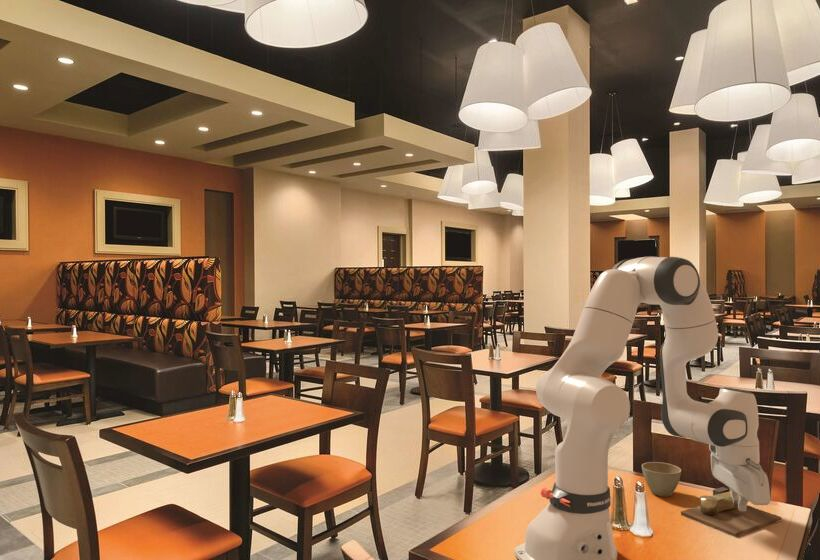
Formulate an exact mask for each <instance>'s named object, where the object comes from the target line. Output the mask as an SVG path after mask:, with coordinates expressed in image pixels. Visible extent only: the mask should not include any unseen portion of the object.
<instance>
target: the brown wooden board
mask: <svg viewBox="0 0 820 560" xmlns="http://www.w3.org/2000/svg"><path fill="white" fill-rule="evenodd" d="M680 516H683V517H686V518H688V519H691V520H693V521H696V522H698V523H700V524H703V525H704V526H707V527H710V528H713V529H715V530H718V531H720V532H723V533H725V534H728V535H730V536H731V537H739V536H741V535H745V534H747V533H750V532H753V531H756V530H758V529H760V528H765V527H767V526H769V525H772V524H775V523H778V522H780V521H779V520H781V521H782V517H781V516H779V515H776V514H773V513H770V512H769V511H765V510H762V509H759V508H756V507H753V506H751V505H748V504H747V510H746V511H739V510H738V509H737V508H732V509H728V510H724V511H720V512H717V513H716V514H714V515H710V514H705V513H703V512H701V511H700V505H698V506H695V507H691V508H689V509H685V510H681V511H680ZM777 521H778V522H777Z"/></svg>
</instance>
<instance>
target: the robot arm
mask: <svg viewBox="0 0 820 560" xmlns="http://www.w3.org/2000/svg"><path fill="white" fill-rule="evenodd" d="M641 304H647V305H658V306H660V309H661V311H662V313H661V314H662V320H663V324H664V329H665V330H664V331H665V340H664V341H663V343H662V344H661V345H660V351H659V367H660V369H659V370H660V379H661V390H662V391H661V395H662V403H661V404H662V405H661V412H660V413H661V414H660V415H661V416H660V417H661V422H662V425H663V427H664V429H665V430H666V431H667V432H668V433H669V434H670V435H672V436H674V437H678V438H684V439H690V440H693V441H695V442H700V443H702V444H707V445H708V448H709V451H710V452H711V453H710V467H711V469H710V470H711V474H712V476H713V478H714V479H716V480H718V481H719V482H720V483H722V484H724V486H726V487H728V489H729V488H730V494H731V497H732V499H733V506H734V507H735V508H737V509H738V510H739V511H746V510H747V505H748V503H751V504H753V505H754V506H769V505H770V503H771V494H770V493H771V492H770V490H771V489H770V484H769V478H768V475H767V474H766V472H765V470H763V467H762V466H761V465H760V461H761V460H760V440H759V438H758V429H759V425H760V424H759V423H760V422H759V409H758V404H757V403H758V402H757V399H756V396H755V394H754V393H752V392H751V391H749V390H744V389H739V388H734V387H726V386H725V387H721V388H719V392H718V395H717V396H716V398H715V399H713V400H712V401H709V402H708V403H707V402H702V401H698V400H695V399H692V398H691V397H690V395H688V392H687V391H688V389H687V377H686V375H687V374H686V373H687V372H686V366H687V363H688V362H690V361H693V360H696V359H699V358H701V357H704V356H705V355H707V354H709V353H710V352H711V351H713V349H714V348H715V347H716V345H717V343H718V341H719V340H718V339H719V329H718V326H717V320H716V317H715V312H714V309H713V305H712V302H711V300H710V296H709V293H708V291H707V290H706V287H705V285H704V283H703V282H702V281H701V278H700V274H699V272H698V270H697V268H696V266H695V265H694V264H693V262H691V261H690V260H688V259H686V258H684V257H683V258H682V257H678V256H668V257H667V256H665V257H664V256H659V257H658V256H653V255H652V256H651V255H649V256H643V257H642V256H641V257H636V258H634V257H633V258H632V257H631V258H630V257H629V258H626V259H623V260H620V261H619V262H617V263H616V264H614V266H612V268H611V269H606V270H604V271H603V272H601V273H600V275H599V276H598V277H597V278H596V281H595V282H594V284H593V285H592V288H591V289H590V291H589V294H588V296H587V297H586V301H585V302H584V305H583V309H582V311H581V314H580V316H579V319H578V323H577V325H576V327H575V330H574V332H573V335H572V338H571V340H570V342H569V343H568V345H567V347H566V348H565V350H564V351H563V353H562V355H561V356H560V358H559V359H558V360H557V361H556V363H555V364H554V365H553V366H552V367H551V368H550V369H549V370H547V371H545V372H544V373H542V375H541V376H539V379H538V380H537V383H536V386H535V394H536V397H537V401H538V402H539V403H540V405H542V406H543V407H544V408H545V409H546V410H547V411H548V412H550V413H551V414H552V415H554V416H556V417H560V418H561V419H564V420H566V424H567V425H566V431H565V432H566V433H565V435H564V438H563V441H561V442H560V443H559V444H557V446H556V447H555V451H554V456H555V457H554V461H555V462H554V469H555V470H554V472H555V481H554V483H553V487H552V489H548V488H547V487H542V488H541V490H540V492H539V493H540V496H541V497H543V498H546V500H549V502H548V503H547V504H546V506H545V507H543V509H542V510H541V511H540V512H539V513H538V514H537V516H535V517H534V518H533V519H532V521H530V522H529V523H528V525H527V526H526V527H527V528H526V531H525V538H524V542H523V543H521V544H519V545H517V546H515V547H514V550H513V551H515V553H514V555H516V556H517V557H516V556H515V557H516V559H517V558H518V559H519V560H618V559H617V558H618V550H617V548H616V544H615V539H614V534H613V527H612V522H611V515H610V507H611V499H612V497H611V489H610V487H609V485H608V484H609V483H608V482H609V479H608V477H609V473H608V469H609V468H608V467H609V466H608V465H609V464H608V463H609V461H608V459H609V452H610V451H609V450H610V446H611V442H612V440H613V437H614V435H615V433H616V432H617V431H618V430H619V429H621V428H622V427H623V426H624V425H625V424H626V423H627V421H628V419H629V416H630V413H631V412H630V411H631V401H630V398H629V396H628V394H627V393H626V391H625V390H624V389H623V388H622V387H620V386H618V385H617V384H615V383H614V382H612V381H610V380H608V379H606V378H604V377H602V375H603V374H604V373H605V371H606V369H608V367H610V366H611V365H612V364H614V363H615V362H617V361H619V360H620V359H621V357H622V356H623V355H624V354H623V353H624V352H625V348H626V346H627V343H628V339H629V336H630V335H631V330H632V327H633V325H634V321H635V318H636V315H637V310H638V307H639V306H640V305H641ZM518 559H517V560H518Z"/></svg>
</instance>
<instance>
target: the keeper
mask: <svg viewBox="0 0 820 560" xmlns="http://www.w3.org/2000/svg"><path fill="white" fill-rule="evenodd" d="M729 491H730V488H729V487H728V488H727V487H723V486H722V487H718V488H714V489H713V490H712V496H713V495H717V494H721V493H725V492H729Z"/></svg>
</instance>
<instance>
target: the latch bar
mask: <svg viewBox="0 0 820 560" xmlns="http://www.w3.org/2000/svg"><path fill="white" fill-rule="evenodd" d="M699 506H700V511H701V512H703V513H705V514H710V515H714V514H716V513H717V512H720V511H724V510H728V509H732V508H735V507H734V506H733V499H732V497H731V494H730V491H729V492H725V493H721V494H717V495H713V494H712V495H700V496H699Z"/></svg>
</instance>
